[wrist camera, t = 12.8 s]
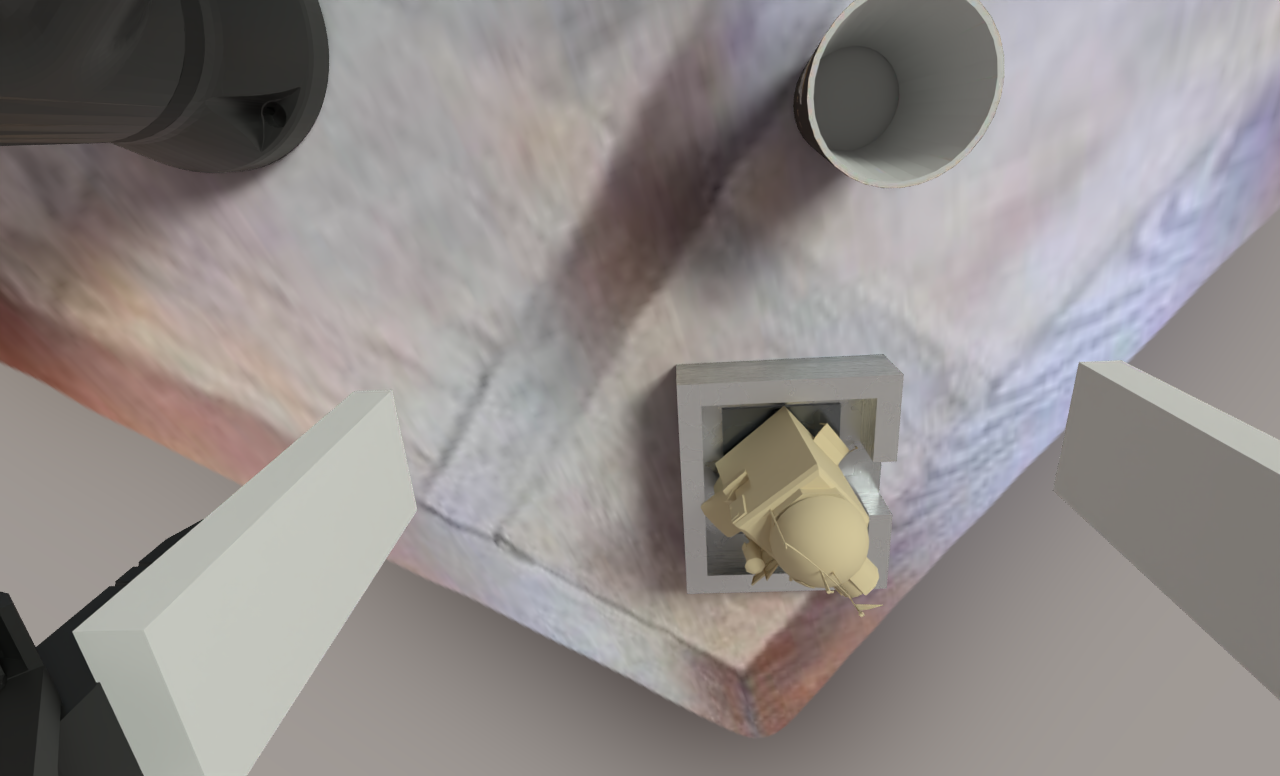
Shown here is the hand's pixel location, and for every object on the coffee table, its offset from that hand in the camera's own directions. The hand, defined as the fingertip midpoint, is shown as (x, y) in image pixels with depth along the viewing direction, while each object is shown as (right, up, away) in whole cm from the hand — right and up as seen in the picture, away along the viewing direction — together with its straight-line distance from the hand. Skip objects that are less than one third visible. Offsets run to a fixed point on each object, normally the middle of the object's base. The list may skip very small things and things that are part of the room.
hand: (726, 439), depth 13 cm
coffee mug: (+12, +19, +26) cm, 34 cm away
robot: (+8, -5, +33) cm, 34 cm away
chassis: (+8, -5, +34) cm, 36 cm away
